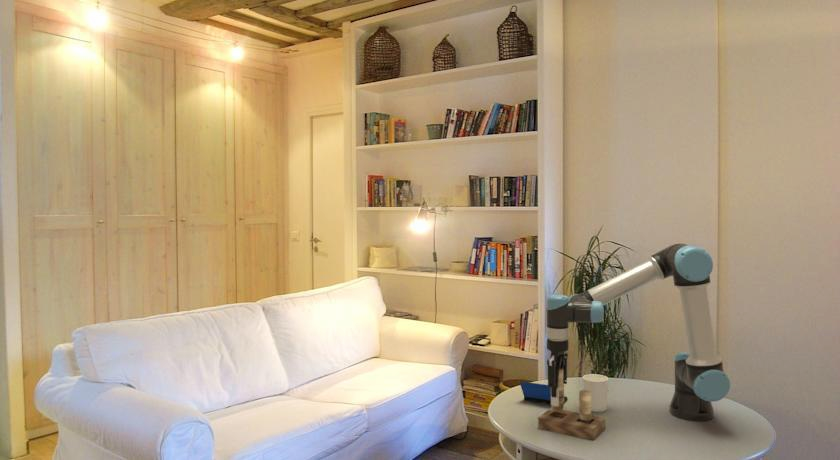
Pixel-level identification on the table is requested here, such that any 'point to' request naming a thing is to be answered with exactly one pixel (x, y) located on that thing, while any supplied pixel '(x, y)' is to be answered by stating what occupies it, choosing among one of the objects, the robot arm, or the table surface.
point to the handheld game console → (537, 392)
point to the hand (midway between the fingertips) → (557, 403)
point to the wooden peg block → (574, 420)
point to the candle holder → (597, 391)
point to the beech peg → (560, 391)
